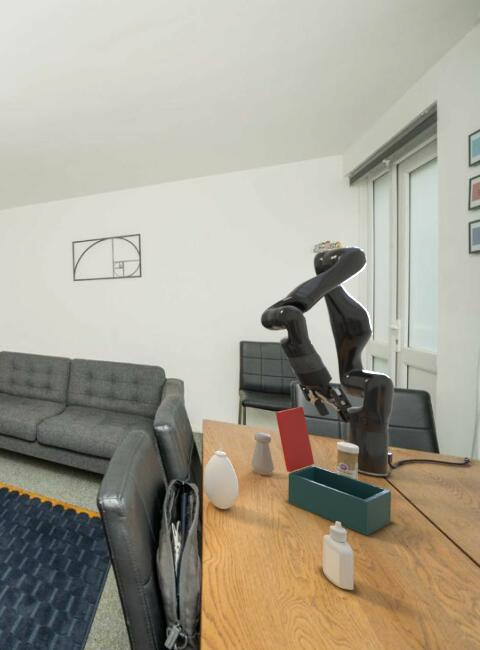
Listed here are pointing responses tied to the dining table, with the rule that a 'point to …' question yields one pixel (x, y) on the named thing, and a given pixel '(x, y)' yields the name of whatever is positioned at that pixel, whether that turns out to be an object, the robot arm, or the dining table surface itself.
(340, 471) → the sprinkles bottle
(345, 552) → the eye dropper bottle
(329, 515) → the lunchbox
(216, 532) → the dining table surface
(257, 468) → the salt shaker
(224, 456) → the sauce bottle
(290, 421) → the lid
